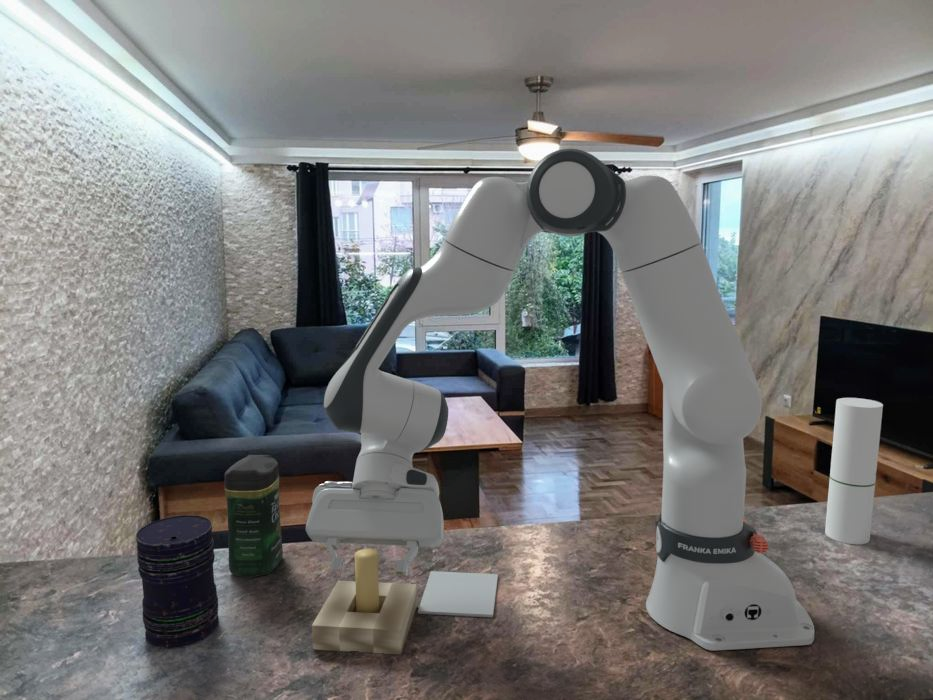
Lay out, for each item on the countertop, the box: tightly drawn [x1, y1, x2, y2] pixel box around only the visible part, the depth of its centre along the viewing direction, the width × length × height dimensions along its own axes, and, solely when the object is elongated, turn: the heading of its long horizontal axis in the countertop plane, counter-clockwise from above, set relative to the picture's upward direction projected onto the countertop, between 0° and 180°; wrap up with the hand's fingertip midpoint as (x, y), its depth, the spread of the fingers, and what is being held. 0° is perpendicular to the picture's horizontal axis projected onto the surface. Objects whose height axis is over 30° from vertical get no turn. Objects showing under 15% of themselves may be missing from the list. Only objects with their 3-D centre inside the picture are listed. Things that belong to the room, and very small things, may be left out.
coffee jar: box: [223, 454, 284, 578], centre depth 113 cm, size 10×8×19 cm
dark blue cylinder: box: [135, 514, 220, 650], centre depth 95 cm, size 10×10×15 cm
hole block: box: [311, 580, 418, 655], centre depth 97 cm, size 12×12×4 cm
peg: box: [354, 548, 379, 613], centre depth 96 cm, size 3×3×11 cm
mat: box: [417, 570, 499, 618], centre depth 105 cm, size 11×12×1 cm
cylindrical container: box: [824, 397, 884, 546], centre depth 123 cm, size 7×7×25 cm
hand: (368, 573), depth 97 cm, fingers open, 8 cm apart
